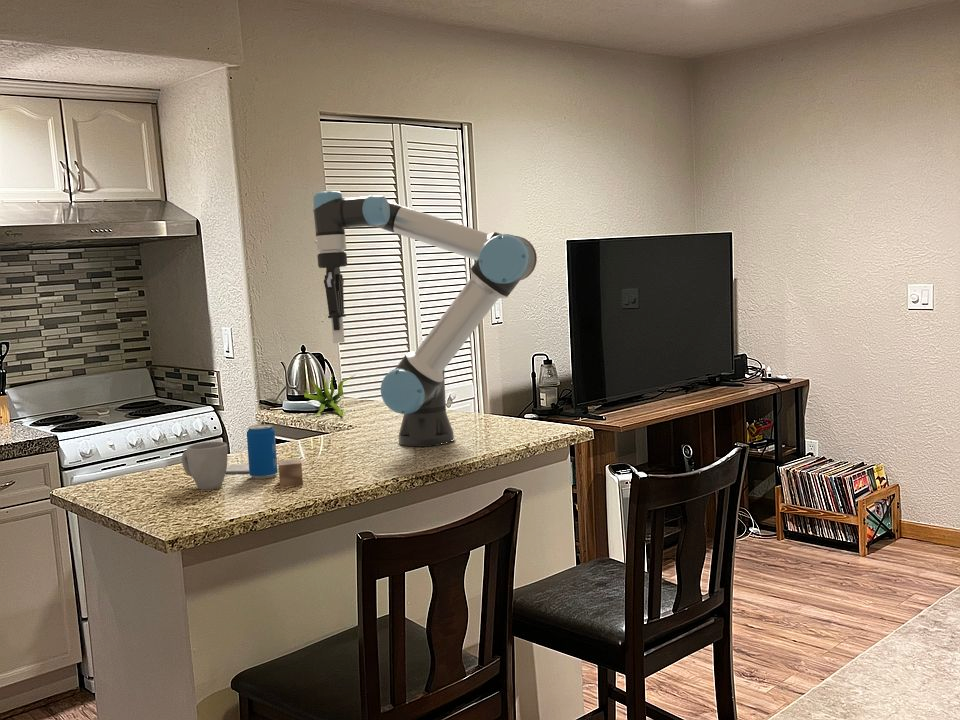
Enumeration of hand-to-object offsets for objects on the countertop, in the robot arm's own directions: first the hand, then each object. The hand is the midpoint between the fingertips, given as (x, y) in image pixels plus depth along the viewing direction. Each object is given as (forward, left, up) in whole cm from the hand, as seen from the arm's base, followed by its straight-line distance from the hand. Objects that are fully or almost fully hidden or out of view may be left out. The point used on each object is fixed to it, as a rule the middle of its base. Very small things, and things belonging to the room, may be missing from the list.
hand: (338, 342), depth 241 cm
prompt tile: (+21, +19, -29) cm, 41 cm away
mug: (+24, +36, -29) cm, 52 cm away
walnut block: (+4, +35, -29) cm, 46 cm away
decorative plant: (+20, -66, -29) cm, 75 cm away
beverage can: (+13, +27, -29) cm, 42 cm away
